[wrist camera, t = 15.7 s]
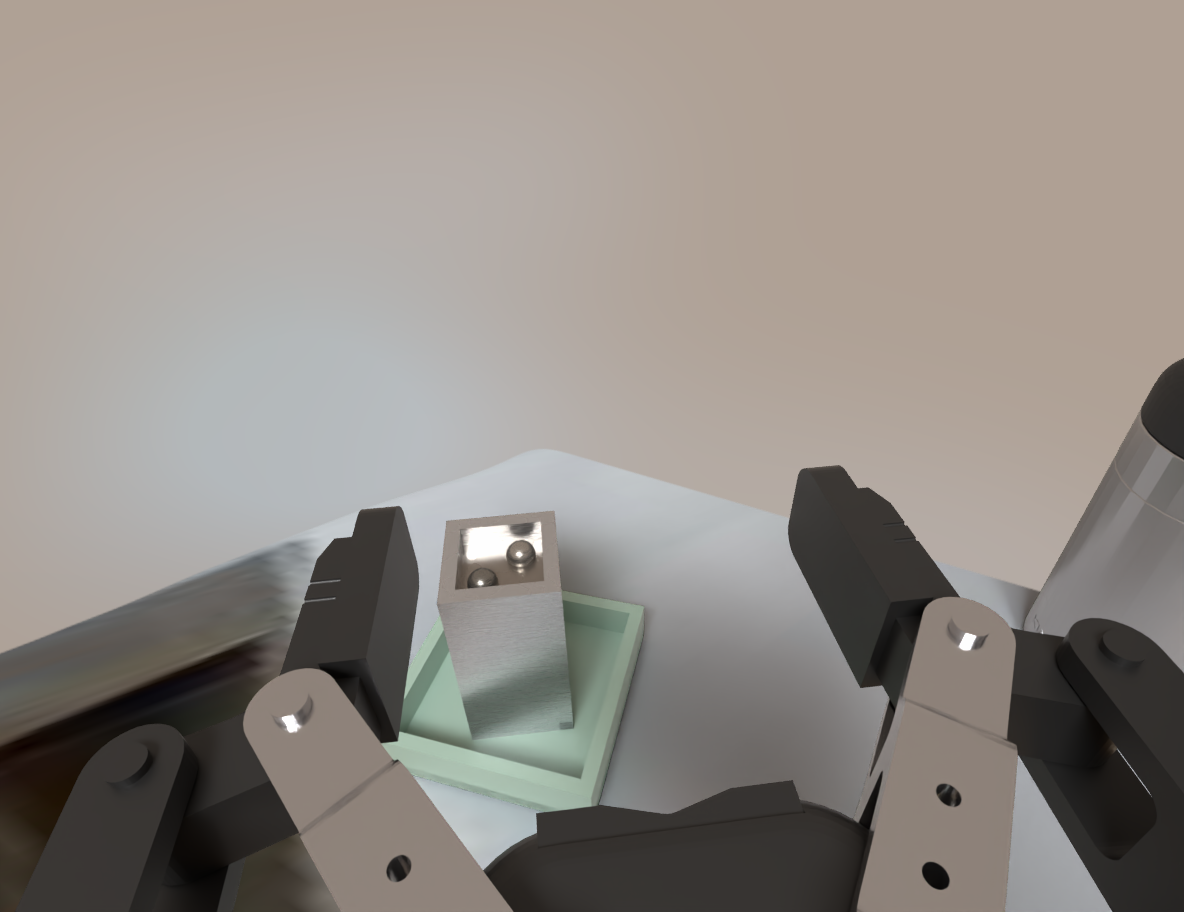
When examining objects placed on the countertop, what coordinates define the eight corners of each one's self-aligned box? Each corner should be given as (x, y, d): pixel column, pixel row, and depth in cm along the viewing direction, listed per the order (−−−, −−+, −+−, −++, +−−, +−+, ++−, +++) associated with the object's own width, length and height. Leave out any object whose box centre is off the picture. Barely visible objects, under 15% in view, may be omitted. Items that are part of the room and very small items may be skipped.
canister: (566, 645, 44) (554, 510, 37) (573, 728, 39) (561, 591, 32) (476, 655, 43) (446, 520, 36) (472, 740, 39) (436, 604, 31)
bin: (643, 635, 45) (644, 606, 43) (592, 825, 35) (591, 798, 33) (471, 600, 48) (465, 571, 46) (379, 765, 38) (367, 737, 36)
